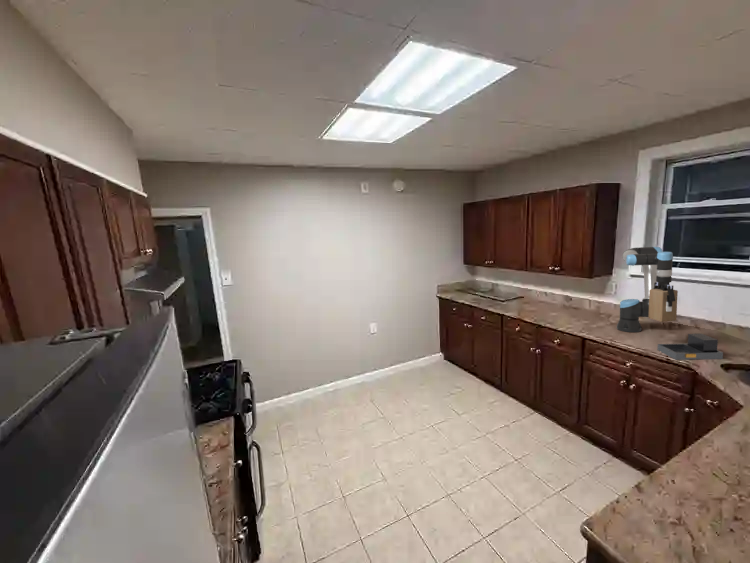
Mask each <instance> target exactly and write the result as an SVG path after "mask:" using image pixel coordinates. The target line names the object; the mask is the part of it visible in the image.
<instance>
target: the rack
mask: <svg viewBox="0 0 750 563" xmlns="http://www.w3.org/2000/svg"><path fill="white" fill-rule="evenodd" d="M687 335H688V336H687V343H657V351H658V350H659V352H660V351H661V352H660V353H662V354H664V355H666V356H668V357H670V358H672V359H674V360H676V361H680V360H682V361H685V360H689V361H691V360H692V361H693V360H723V359H724V351H720V350H718V345H719V343H718V342H719V340H718V339H717V338H715V337H714V338H713V337H712V336H708V335H706V334H704V333H688V334H687Z"/></svg>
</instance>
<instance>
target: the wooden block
mask: <svg viewBox="0 0 750 563" xmlns="http://www.w3.org/2000/svg"><path fill="white" fill-rule="evenodd" d="M673 290H674V295H675V301H673V302H672V311H669V312H667V311H666V301H667V295H669V294H668V291H663V290H660V289H650V291H649V317H648V319H651V320H653V321H657V322H660V323H665V322H667V323H668V322H675V321H677V312H678V293H679V291H678V290H677V289H673ZM669 300H670V299H669Z"/></svg>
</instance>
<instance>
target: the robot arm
mask: <svg viewBox="0 0 750 563" xmlns="http://www.w3.org/2000/svg"><path fill="white" fill-rule="evenodd" d="M673 254H674V253H673V252H672V251H663V250H662V248H661V247H659V246H647V247H644V246H643V247H631V248H628V249H626V250H625V251H624V252H623V253H622V254H621V258H622V260H623V261H625V263H626V266H630V267H631V266H632V267H633V266H642V267H643V283H644V284H643V285H644V286H643V288H644V297H643V298H642V299H641V300H642V301H640V299H638V298H636V299H635V298H628V299H627V298H626V299H623V300H621V301H620V303H619V319H618V322H617V323H616V329H617V330H618V331H621V332H627V333H639V332H641V331H642V326H641V323H640V320H639V318H649V291H650V289H660V290H663V291H668V294H669V295H667V301H666V311H667V312H669V311H672V302H673V301H675V295H674V290H675V289H674V285H670V283H672V281H673V280H672V279H673V277H672V275H673V258H674V256H673ZM669 299H670V300H669Z"/></svg>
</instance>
